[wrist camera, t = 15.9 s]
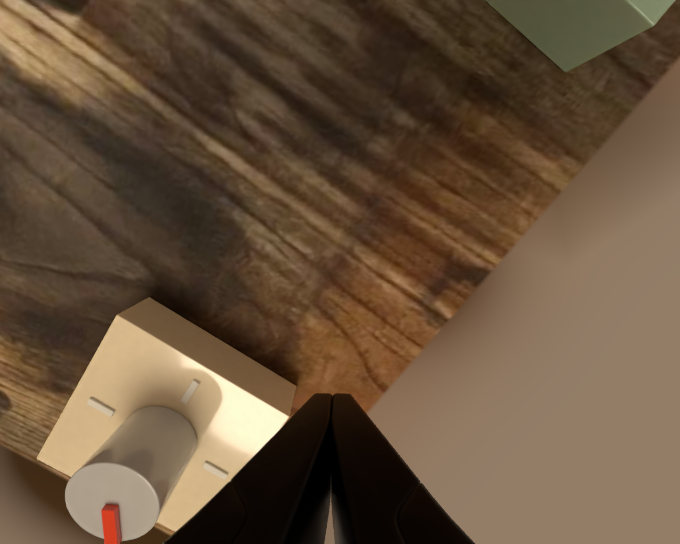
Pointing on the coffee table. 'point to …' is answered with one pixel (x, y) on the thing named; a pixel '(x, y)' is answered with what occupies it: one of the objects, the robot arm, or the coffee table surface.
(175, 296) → the coffee table surface
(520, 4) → the green block with knob
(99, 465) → the grey rotary knob
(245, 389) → the plate
